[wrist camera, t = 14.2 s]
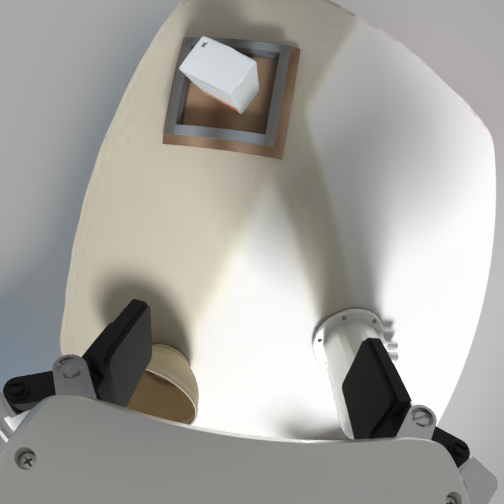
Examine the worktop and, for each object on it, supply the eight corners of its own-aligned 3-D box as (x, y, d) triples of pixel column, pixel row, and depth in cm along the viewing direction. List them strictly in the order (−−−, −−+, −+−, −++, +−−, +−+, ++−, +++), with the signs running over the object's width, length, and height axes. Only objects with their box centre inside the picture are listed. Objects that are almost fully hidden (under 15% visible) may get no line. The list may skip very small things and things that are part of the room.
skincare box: (204, 94, 31) (175, 67, 20) (222, 69, 30) (202, 33, 19) (242, 116, 32) (230, 96, 21) (261, 90, 31) (258, 59, 20)
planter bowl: (226, 365, 47) (217, 410, 37) (178, 400, 51) (165, 439, 41) (153, 311, 44) (127, 349, 34) (116, 355, 48) (93, 391, 38)
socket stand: (299, 52, 30) (303, 40, 26) (281, 159, 35) (283, 158, 31) (186, 42, 30) (177, 30, 26) (166, 144, 35) (153, 142, 31)
